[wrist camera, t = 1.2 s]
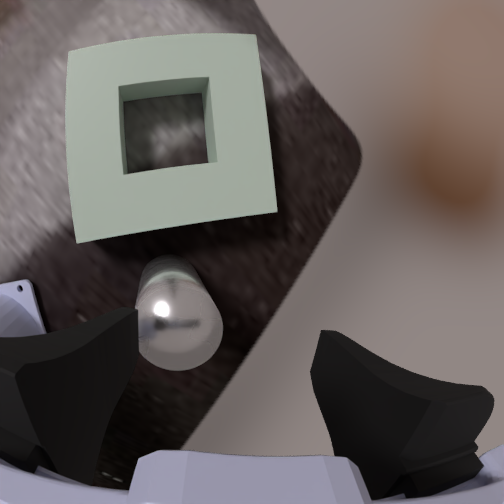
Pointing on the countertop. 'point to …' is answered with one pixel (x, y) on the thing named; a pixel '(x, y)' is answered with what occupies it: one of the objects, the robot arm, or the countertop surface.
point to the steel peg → (176, 315)
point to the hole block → (176, 178)
